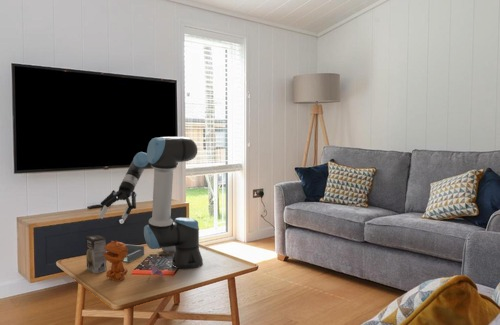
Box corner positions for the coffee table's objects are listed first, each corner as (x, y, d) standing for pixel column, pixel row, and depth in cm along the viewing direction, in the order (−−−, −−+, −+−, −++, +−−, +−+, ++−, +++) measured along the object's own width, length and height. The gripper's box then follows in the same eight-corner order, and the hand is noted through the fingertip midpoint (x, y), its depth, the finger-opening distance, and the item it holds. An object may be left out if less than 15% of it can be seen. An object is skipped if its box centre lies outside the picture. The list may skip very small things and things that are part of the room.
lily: (162, 288, 189) (171, 267, 192) (136, 278, 188) (145, 257, 191) (162, 287, 201) (170, 267, 203) (138, 278, 200) (147, 258, 202)
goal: (144, 255, 236) (143, 245, 236) (128, 262, 223) (128, 252, 223) (118, 252, 241) (118, 243, 241) (102, 259, 228) (102, 250, 228)
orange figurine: (101, 277, 201) (100, 238, 200) (125, 273, 206) (124, 235, 205) (106, 284, 191) (105, 244, 190) (131, 280, 197) (130, 240, 195)
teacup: (176, 254, 236) (175, 240, 236) (157, 253, 239) (156, 239, 238) (185, 247, 250) (184, 234, 249) (167, 246, 252) (166, 233, 252)
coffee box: (86, 269, 212) (85, 236, 211) (99, 266, 217) (98, 234, 216) (94, 273, 206) (92, 240, 205) (107, 270, 210) (106, 237, 209)
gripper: (151, 190, 234) (136, 223, 221) (111, 188, 242) (94, 220, 229) (145, 181, 228) (129, 215, 216) (105, 179, 236) (87, 212, 224)
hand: (111, 218), depth 222 cm, fingers open, 13 cm apart
